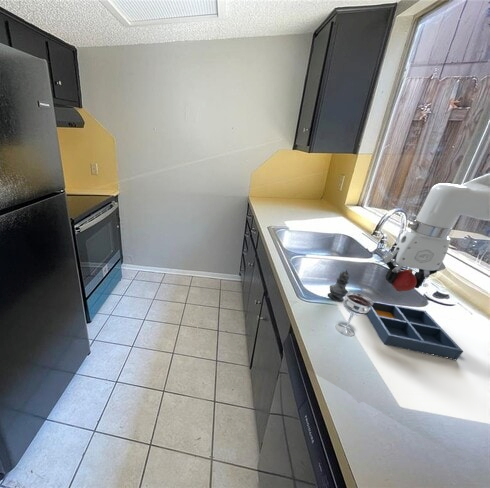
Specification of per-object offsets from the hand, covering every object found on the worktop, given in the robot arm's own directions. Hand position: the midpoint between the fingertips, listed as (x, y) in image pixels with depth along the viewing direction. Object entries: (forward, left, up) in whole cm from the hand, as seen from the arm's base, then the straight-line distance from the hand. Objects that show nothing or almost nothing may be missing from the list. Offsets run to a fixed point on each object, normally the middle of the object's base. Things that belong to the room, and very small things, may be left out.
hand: (401, 283), depth 79 cm
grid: (-4, +4, -14) cm, 15 cm away
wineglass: (+14, +10, -15) cm, 23 cm away
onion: (0, 0, -3) cm, 3 cm away
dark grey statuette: (+12, -8, -15) cm, 20 cm away
